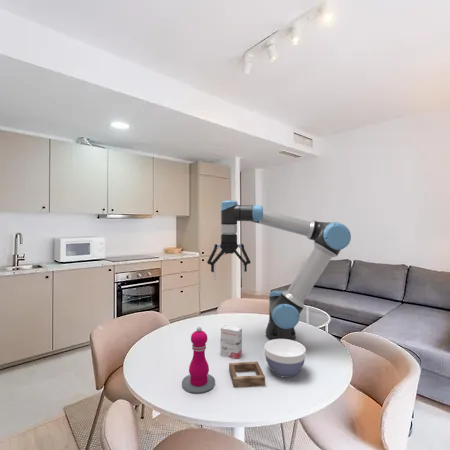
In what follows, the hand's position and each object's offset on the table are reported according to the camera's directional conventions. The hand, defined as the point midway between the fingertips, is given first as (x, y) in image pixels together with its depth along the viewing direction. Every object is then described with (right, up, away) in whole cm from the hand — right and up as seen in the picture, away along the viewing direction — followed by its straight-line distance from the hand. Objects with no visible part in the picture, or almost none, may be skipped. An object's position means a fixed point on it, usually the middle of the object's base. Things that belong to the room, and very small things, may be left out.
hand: (228, 278), depth 136 cm
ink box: (+1, -32, -8) cm, 33 cm away
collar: (+6, -32, -27) cm, 42 cm away
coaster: (-11, -32, -31) cm, 46 cm away
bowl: (+22, -33, -22) cm, 45 cm away
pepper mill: (-11, -32, -31) cm, 46 cm away
